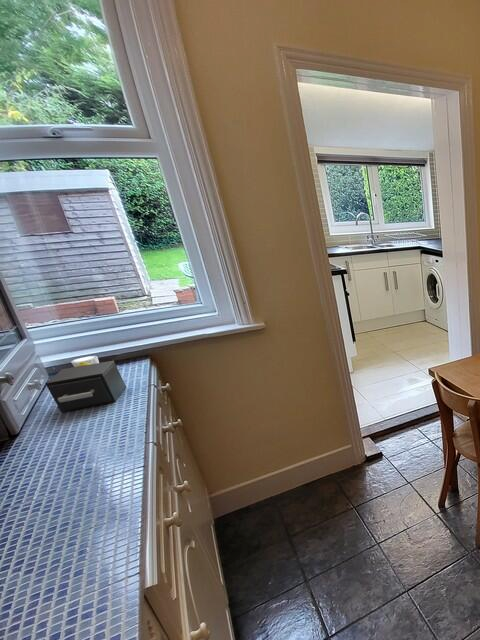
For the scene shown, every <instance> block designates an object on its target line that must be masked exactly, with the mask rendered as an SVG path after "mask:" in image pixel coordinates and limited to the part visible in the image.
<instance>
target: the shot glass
mask: <svg viewBox="0 0 480 640" xmlns="http://www.w3.org/2000/svg"><path fill="white" fill-rule="evenodd" d="M81 362H84V363H90V364H96V363H100V360H99V358H98V356H97V355H87V356H83V357H82V356H81V357H79V358H75V359H73V360H71V361H70V363H71V364H72V367H77V365H79V364H80V363H81Z"/></svg>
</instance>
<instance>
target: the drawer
mask: <svg viewBox="0 0 480 640" xmlns="http://www.w3.org/2000/svg"><path fill="white" fill-rule="evenodd" d="M48 388H49V389H48ZM48 388H47V389H48V391H49V390H50V391H49V393H50V392H51V393H50V395H51V394H52V395H53V397H54V398H53V397H52V398H53V400H54V399H55V400H54V402H55V401H56V402H55V404H56V403H57V404H58V406H59V407H58V406H57V407H58V409H59V408H60V409H59V411H60V410H61V411H63V410H68V409H73V408H78V407H83V406H88V405H93V404H98V403H103V402H108V401H111V400H112V399H111V397H110V395H109V393H108V391H107V389H106V387H105V385H104V383H103V381H102V379H101V377H100V376H99V377H96V378H95V377H93V378H88V379H85V380H84V379H82V380H79V381H78V380H76V381H70V382H65V383H59V384H55V385H51V386H49V387H48ZM52 395H51V396H52ZM57 404H56V405H57ZM61 411H60V412H61Z"/></svg>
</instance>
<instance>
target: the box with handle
mask: <svg viewBox="0 0 480 640" xmlns="http://www.w3.org/2000/svg"><path fill="white" fill-rule="evenodd" d="M99 376H100V377H101V379H102V381H103V383H104V385H105V387H106V389H107V391H108V393H109V395H110V397H111V399H112V400H111V401H108V402H103V403H98V404H93V405H88V406H83V407H78V408H73V409H68V410H63V411H61V410H60V408H59V406H58V404H57V403H56V401H55V399H54V397H53V395H52V394H51V392H50V390H49V388H48V387H49V386H51V385H55V384H59V383H65V382H70V381H76V380H82V379H88V378H93V377H99ZM44 384H45V386H46V388H47V389H48V392H49V393H50V395H51V396H52V398H53V400H54V402H55V404H56V406H57V408H58V409H59V411H60V413H65V412H71V411H75V410H80V409H87V408H90V407H96V406H100V405H106V404H110V403H114V402H117V401H118V399H119V398H120V397H121V395H122V393H123V392H124V391H125V389H126V388H127V386H126V383H125V381H124V379H123V377H122V374H121V372H120V371H119V369H118V366H117V364H116V362H115V360H108V361H102V362H99V363H96V364H90V365H84V366H78V367H74V366H71V367H66V368H62V369H60V371H58V372H57V373H56V374H55V375H53V376H52V377H51V378H50V379H48V380H47V381H46V382H45V383H44Z"/></svg>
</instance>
